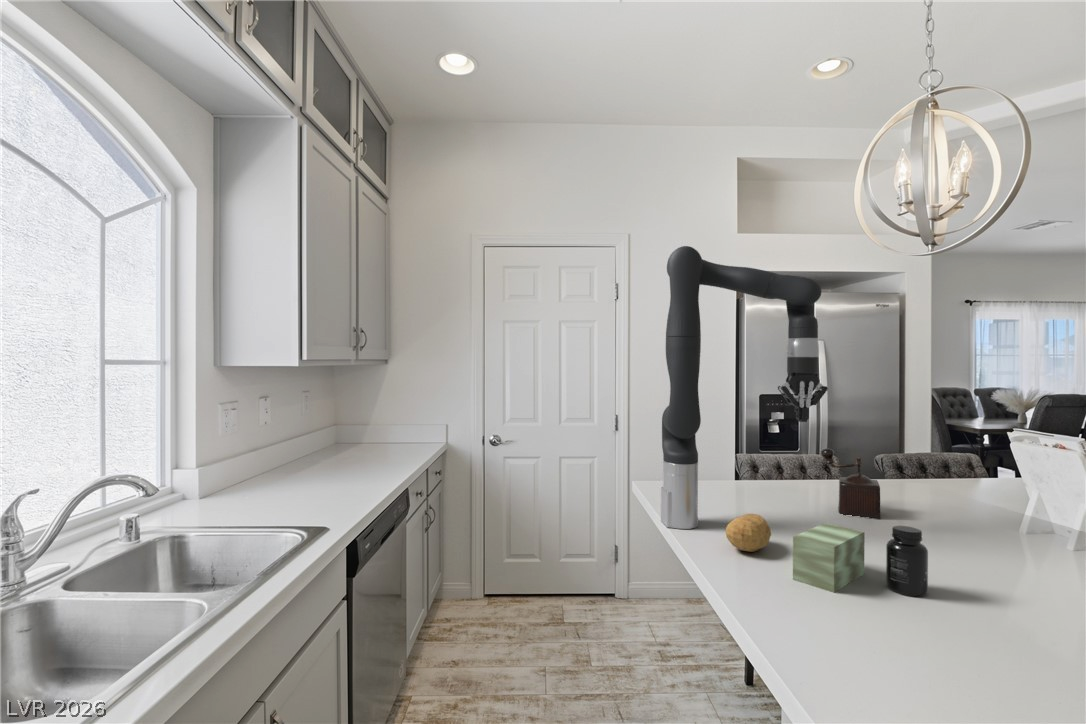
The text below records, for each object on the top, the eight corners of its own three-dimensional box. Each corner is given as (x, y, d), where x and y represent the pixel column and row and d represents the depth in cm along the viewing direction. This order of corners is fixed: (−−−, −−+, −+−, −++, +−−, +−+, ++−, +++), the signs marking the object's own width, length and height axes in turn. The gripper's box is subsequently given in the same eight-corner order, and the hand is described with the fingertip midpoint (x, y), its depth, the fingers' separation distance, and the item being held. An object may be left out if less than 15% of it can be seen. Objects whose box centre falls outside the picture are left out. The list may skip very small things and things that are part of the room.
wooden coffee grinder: (877, 510, 163) (878, 450, 163) (881, 519, 153) (881, 456, 153) (820, 503, 170) (820, 446, 170) (819, 512, 160) (820, 452, 160)
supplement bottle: (936, 598, 102) (937, 534, 102) (900, 597, 103) (900, 534, 102) (912, 583, 109) (912, 523, 109) (878, 582, 109) (878, 523, 109)
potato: (776, 545, 132) (776, 512, 132) (763, 562, 120) (763, 526, 120) (735, 537, 137) (735, 506, 137) (719, 553, 125) (719, 519, 125)
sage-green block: (824, 563, 120) (825, 522, 120) (864, 574, 114) (864, 531, 114) (792, 580, 111) (793, 536, 111) (833, 593, 104) (834, 547, 104)
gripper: (785, 355, 138) (785, 423, 138) (835, 355, 139) (835, 423, 139) (771, 355, 145) (771, 420, 145) (818, 356, 146) (818, 420, 146)
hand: (802, 421), depth 142 cm, fingers closed
